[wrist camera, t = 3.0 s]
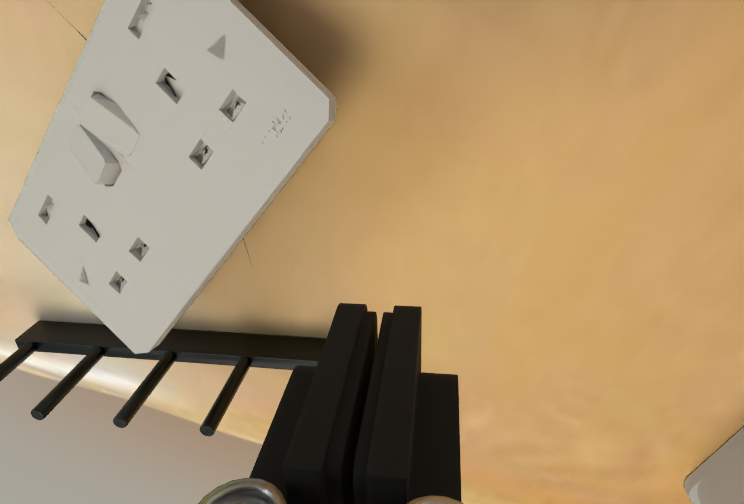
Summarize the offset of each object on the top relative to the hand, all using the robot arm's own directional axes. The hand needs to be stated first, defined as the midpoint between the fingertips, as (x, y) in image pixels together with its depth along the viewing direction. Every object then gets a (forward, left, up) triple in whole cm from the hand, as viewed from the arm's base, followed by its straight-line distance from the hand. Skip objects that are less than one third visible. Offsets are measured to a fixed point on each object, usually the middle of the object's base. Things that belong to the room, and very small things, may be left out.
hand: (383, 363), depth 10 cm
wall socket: (+13, 0, -15) cm, 19 cm away
